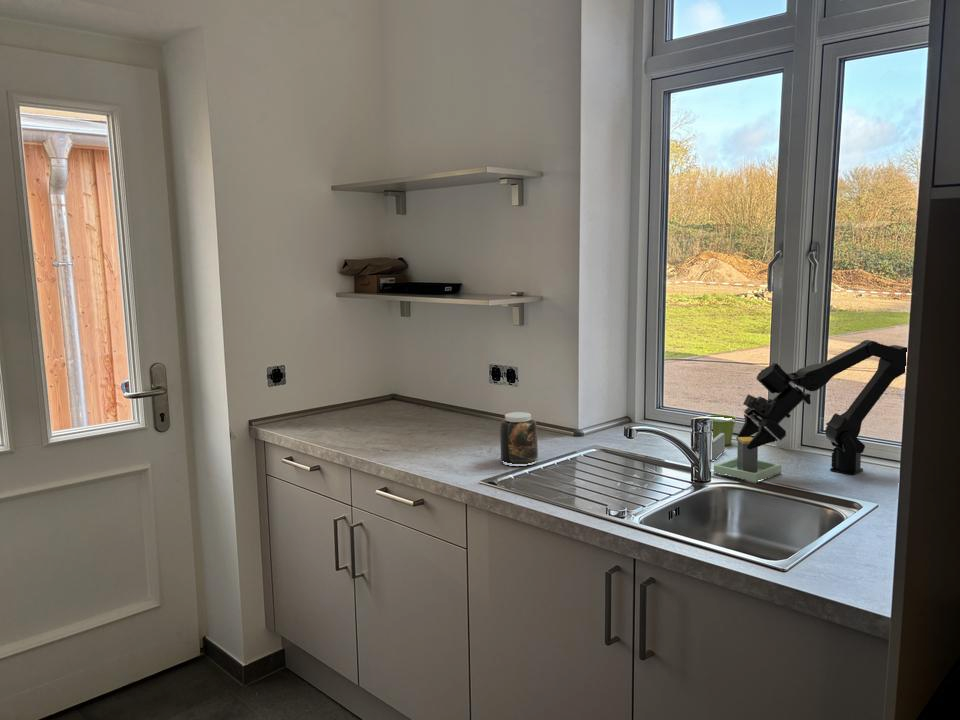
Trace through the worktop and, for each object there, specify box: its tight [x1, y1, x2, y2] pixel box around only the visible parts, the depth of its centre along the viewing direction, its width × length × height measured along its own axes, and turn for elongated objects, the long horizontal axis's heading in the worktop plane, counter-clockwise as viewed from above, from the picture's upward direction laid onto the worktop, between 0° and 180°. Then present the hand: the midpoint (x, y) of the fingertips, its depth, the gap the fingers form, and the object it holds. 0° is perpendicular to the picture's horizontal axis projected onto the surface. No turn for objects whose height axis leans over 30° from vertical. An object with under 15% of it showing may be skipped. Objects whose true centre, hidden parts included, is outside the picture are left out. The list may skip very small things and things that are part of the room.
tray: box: [713, 457, 782, 484], centre depth 210 cm, size 13×13×2 cm
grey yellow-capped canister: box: [736, 436, 759, 473], centre depth 209 cm, size 4×5×10 cm
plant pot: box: [707, 414, 737, 446], centre depth 243 cm, size 9×9×9 cm
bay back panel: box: [712, 433, 726, 461], centre depth 228 cm, size 1×12×6 cm, turn 147°
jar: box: [499, 411, 539, 464], centre depth 230 cm, size 12×12×15 cm
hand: (742, 444), depth 209 cm, fingers open, 9 cm apart
